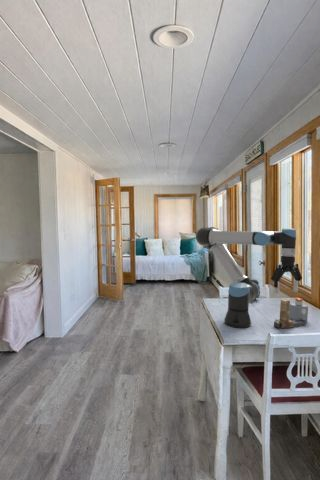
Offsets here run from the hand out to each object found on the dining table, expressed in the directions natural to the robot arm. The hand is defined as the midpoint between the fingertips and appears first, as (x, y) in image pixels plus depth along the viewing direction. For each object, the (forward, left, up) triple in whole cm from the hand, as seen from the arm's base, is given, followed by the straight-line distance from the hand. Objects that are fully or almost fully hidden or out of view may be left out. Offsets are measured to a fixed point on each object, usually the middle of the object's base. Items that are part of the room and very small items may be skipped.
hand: (286, 292), depth 179 cm
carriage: (0, 0, -20) cm, 20 cm away
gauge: (+18, +8, -14) cm, 24 cm away
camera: (+21, +57, -20) cm, 64 cm away
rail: (+4, 0, -20) cm, 21 cm away
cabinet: (+18, +8, -20) cm, 28 cm away
